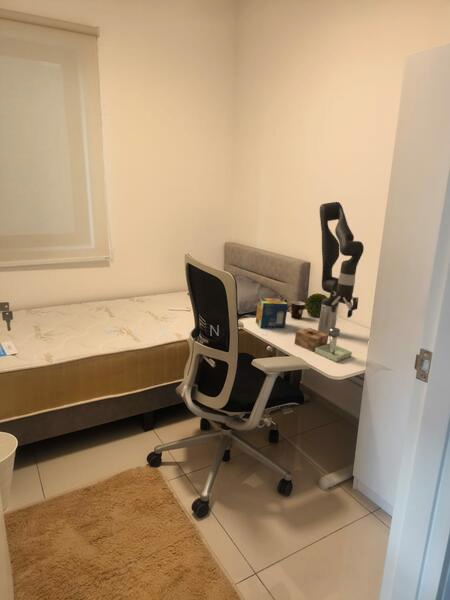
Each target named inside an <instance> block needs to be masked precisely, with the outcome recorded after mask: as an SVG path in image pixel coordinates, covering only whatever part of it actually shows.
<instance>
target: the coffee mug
mask: <svg viewBox="0 0 450 600" xmlns="http://www.w3.org/2000/svg"><path fill="white" fill-rule="evenodd" d="M305 305H306V303H305V302H303V301H299V300H293V301H291V304H290V305H288V307H287V312H288V313H289V314H290V315H291V316H290V317H291V319H294V320H301V319H302V318H303V314H304V313H303V312H304V309H305ZM289 307H291V308H290V309H291V310H289Z"/></svg>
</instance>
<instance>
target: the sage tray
mask: <svg viewBox="0 0 450 600" xmlns="http://www.w3.org/2000/svg"><path fill="white" fill-rule="evenodd" d="M329 344H330V342H329V343H327V344H326V345H323V346H320V347H317V348H315V351H314V354H316V355H318V356H319V357H323V358H326V359H327V360H329V361H332V362H334V363H339V362H341V361H344V360H347V359H350V358H352V356H353V355H352V354H353V351H350V350H349V349H347V348H343V347H341V346H338V345H336V350H335V355H332V354H330V353H328V352H329Z"/></svg>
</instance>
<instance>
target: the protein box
mask: <svg viewBox="0 0 450 600" xmlns="http://www.w3.org/2000/svg"><path fill="white" fill-rule="evenodd" d="M288 306H289V303H287V302H286V301H285V300H284V299H283V298H269V297H268V298H267V297H266V298H261V297H259V298H258V299H257V307H256V309H257V310H256V317H255V323H256V324H257V326H258V327H259V329H285V328H286V322H287V321H286V319H287V314H288V310H287V308H288Z"/></svg>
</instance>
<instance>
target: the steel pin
mask: <svg viewBox="0 0 450 600" xmlns="http://www.w3.org/2000/svg"><path fill="white" fill-rule="evenodd" d="M340 333H341V329H340V328H338V327H335V328H333V327H332V328H330V329H329V335H328V336H330V339H329V343H330V344H329V343H328V344H329V352H328V353H330V354H332V355H335V350H336V346H337V341H338V340H337V339H338V337H339V336H340Z"/></svg>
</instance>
